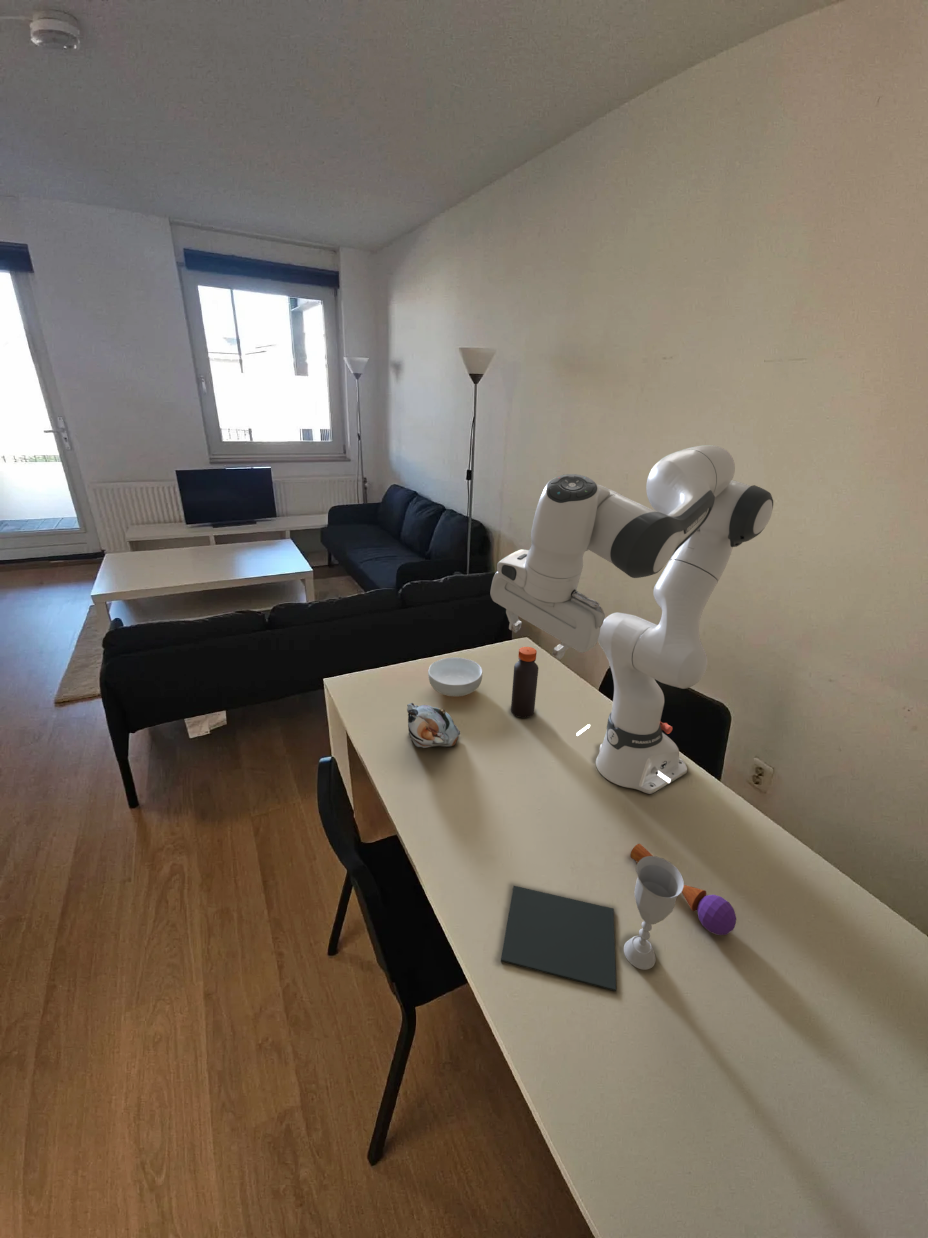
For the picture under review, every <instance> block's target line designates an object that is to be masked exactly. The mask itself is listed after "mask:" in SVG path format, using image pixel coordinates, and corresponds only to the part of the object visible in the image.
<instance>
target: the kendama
mask: <svg viewBox="0 0 928 1238" xmlns="http://www.w3.org/2000/svg"><path fill="white" fill-rule="evenodd" d="M629 856H630V858H631V859H632V860H633V861H635V862H636V863H638V862H639V861H640V860H641V859H642V858H644V857H647V856H654V855H653V854H652V853H651V852H650V851H649V850H648V849H647V848H645V847H644V845H643V844H641V843H637V844H635V845H634V846H633V848H632V849H631V851H630V855H629ZM681 895H682V896H683V898H684V899H685V901H686V903H687V904H688V906H689V908H690V911H692V912H697V915H698V916H697V917H698V920H699V922H700V924H701V925H702V927H704V928H705V930H707V931H708V932H709V933H712V934H714V935H717V936H725V935H728V934H730V933H731V932H732V931H733V930H734V929H735V927H736V923H737V915H736V911H735V908H734V907H733V905H732V904H731V903H730V902H729V901H728V900H726V899H725V897H722V896H720V895H716V894H707V891H706V889H702V888H697V887H695V886H691V885H687V884H684V887H683V890H682V892H681Z"/></svg>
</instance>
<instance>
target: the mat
mask: <svg viewBox="0 0 928 1238" xmlns="http://www.w3.org/2000/svg"><path fill="white" fill-rule="evenodd" d="M511 892H512V893H511V898H510V904H509V910H508V915H507V922H506V927H505V935H504V938H503V944H502V949H501V950H502V951H501V957H500V962H503V963H507V964H510V965H515V966H517V967H522V968H526V969H529V970H534V971H537V972H540V973H545V974H549V975H553V976H556V977H560V978H564V979H567V980H572V981H575V982H579V983H582V984H587V985H590V986H595V987H598V988H601V989H605V990H610V991H613V992H617V977H616V976H617V975H616V974H617V973H616V948H615V947H616V945H615V944H616V943H615V916H614V915H615V914H614V908H613V907H608V906H605V905H599V904H596V903H591V902H586V901H583V900H578V899H575V898H574V899H573V898H570V897H566V896H561V895H558V894H557V895H556V894H553V893H547V892H543V891H539V890H535V889H531V888H526V887H523V886H522V887H521V886H517V885H513V887H512V891H511Z"/></svg>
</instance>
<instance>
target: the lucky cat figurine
mask: <svg viewBox="0 0 928 1238" xmlns="http://www.w3.org/2000/svg"><path fill="white" fill-rule="evenodd" d="M406 712H407V728H408V729H407V730H408V736H409V738H410V739H411V741H412V743H413V744H414V746H415V747H416V748H423V749H426V748H432V747H453V746H455V745H456V743H457V741H458V740H459V736H460V735H461V731H460V729H459V727H458V726H457V725H456V724H455V723H454V719H453V718H452V717H451V715H450V714H449V713H448V712H447V711H446V709H445V708H444V707H440V708H439V707H437V706H436V707H434V706H431V705H429V704H421V705H418V704H417V705H415V703H413V702H410V703H408V704H407V707H406Z"/></svg>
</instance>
